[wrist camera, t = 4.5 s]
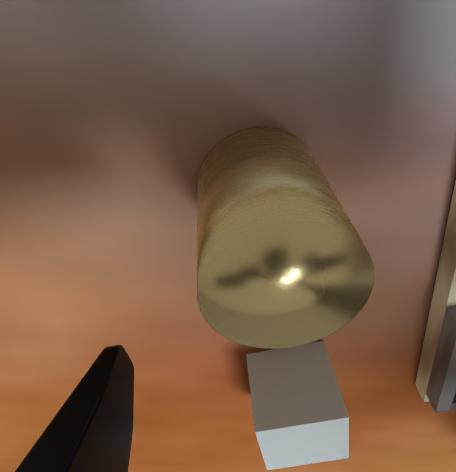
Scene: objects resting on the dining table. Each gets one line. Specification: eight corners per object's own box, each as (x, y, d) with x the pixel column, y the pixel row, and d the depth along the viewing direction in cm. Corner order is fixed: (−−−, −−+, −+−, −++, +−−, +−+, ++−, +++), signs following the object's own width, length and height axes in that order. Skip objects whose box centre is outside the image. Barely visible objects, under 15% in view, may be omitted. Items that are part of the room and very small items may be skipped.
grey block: (326, 382, 24) (348, 457, 20) (256, 394, 24) (267, 470, 21) (323, 339, 21) (348, 417, 18) (245, 352, 22) (255, 432, 18)
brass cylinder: (320, 222, 16) (371, 333, 11) (211, 243, 17) (217, 359, 12) (314, 114, 13) (379, 202, 9) (184, 142, 14) (175, 242, 9)
